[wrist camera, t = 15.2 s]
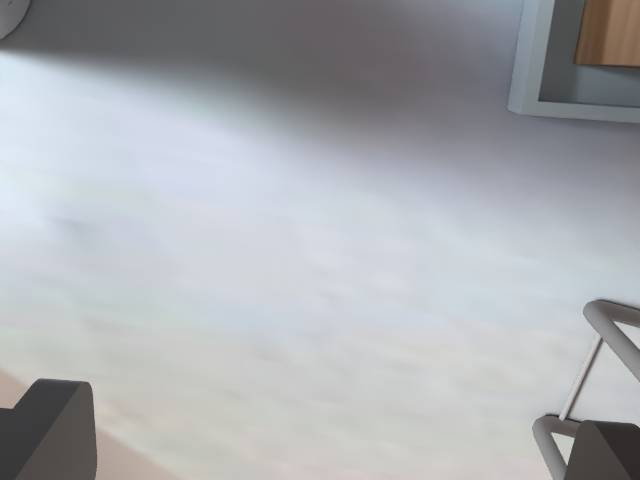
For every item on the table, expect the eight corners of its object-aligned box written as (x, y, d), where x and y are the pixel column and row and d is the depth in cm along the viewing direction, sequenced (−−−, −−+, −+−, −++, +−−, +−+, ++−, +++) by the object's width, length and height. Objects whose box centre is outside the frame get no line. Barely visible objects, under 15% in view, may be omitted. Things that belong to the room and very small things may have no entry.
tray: (506, 109, 37) (521, 114, 33) (535, -78, 34) (554, -94, 30) (680, 122, 36) (712, 128, 33) (725, -68, 33) (767, -83, 30)
